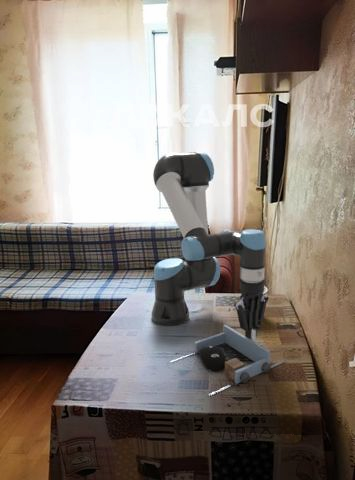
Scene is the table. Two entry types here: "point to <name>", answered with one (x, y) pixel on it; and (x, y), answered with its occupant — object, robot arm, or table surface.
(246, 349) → the blue u-shaped bracket
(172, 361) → the track
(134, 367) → the table surface
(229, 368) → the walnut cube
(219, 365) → the computer mouse
